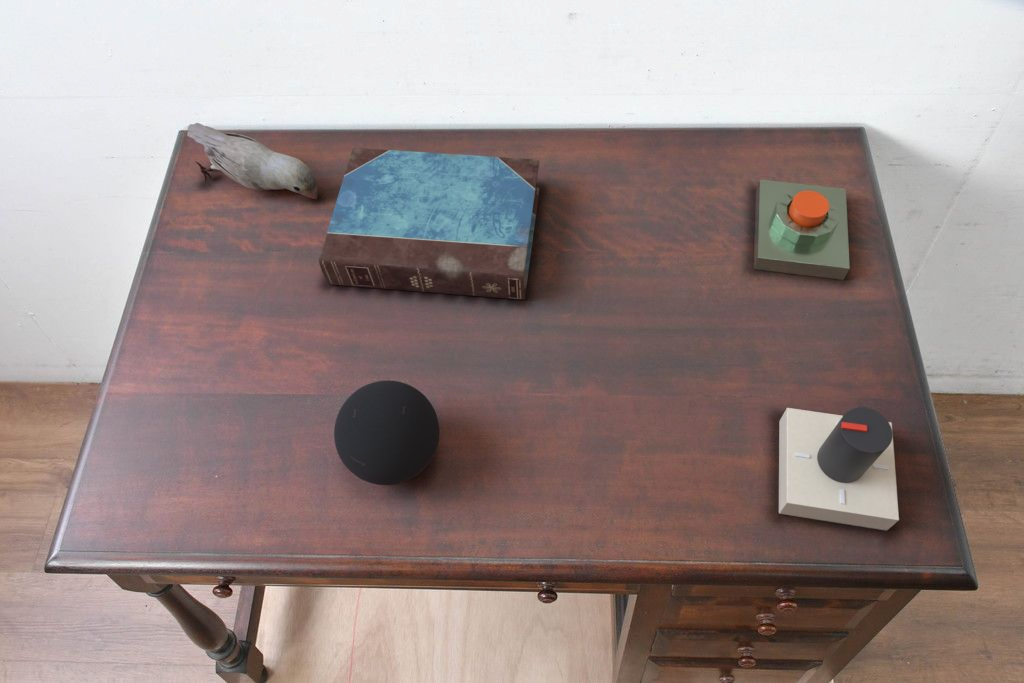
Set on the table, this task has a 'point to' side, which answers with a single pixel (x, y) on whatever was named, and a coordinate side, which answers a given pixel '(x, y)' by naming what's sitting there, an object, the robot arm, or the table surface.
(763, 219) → the button box
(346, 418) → the speaker
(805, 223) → the button
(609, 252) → the table surface
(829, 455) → the knob
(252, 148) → the decorative bird
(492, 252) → the book
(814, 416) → the knob panel
